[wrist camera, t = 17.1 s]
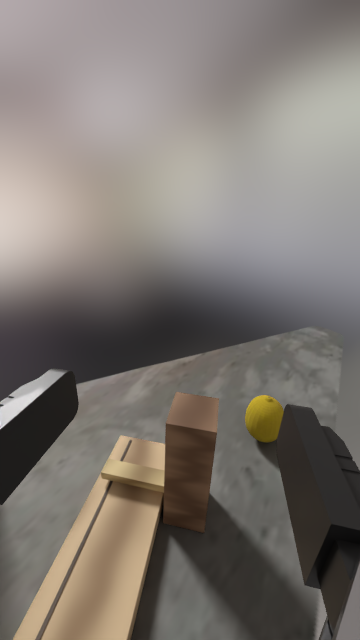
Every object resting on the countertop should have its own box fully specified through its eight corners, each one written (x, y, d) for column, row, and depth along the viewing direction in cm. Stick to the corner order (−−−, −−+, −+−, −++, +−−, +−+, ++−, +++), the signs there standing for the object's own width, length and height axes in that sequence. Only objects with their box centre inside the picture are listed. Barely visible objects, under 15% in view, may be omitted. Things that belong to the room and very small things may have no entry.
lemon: (251, 456, 34) (260, 412, 31) (236, 427, 39) (243, 386, 36) (286, 452, 35) (298, 408, 32) (267, 423, 40) (276, 384, 37)
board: (-113, 913, 11) (-132, 910, 10) (121, 445, 35) (120, 434, 34) (41, 1011, 10) (32, 1017, 9) (174, 456, 34) (174, 445, 33)
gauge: (97, 506, 27) (85, 408, 22) (114, 470, 31) (107, 381, 26) (204, 533, 25) (216, 432, 20) (207, 490, 29) (218, 398, 24)
